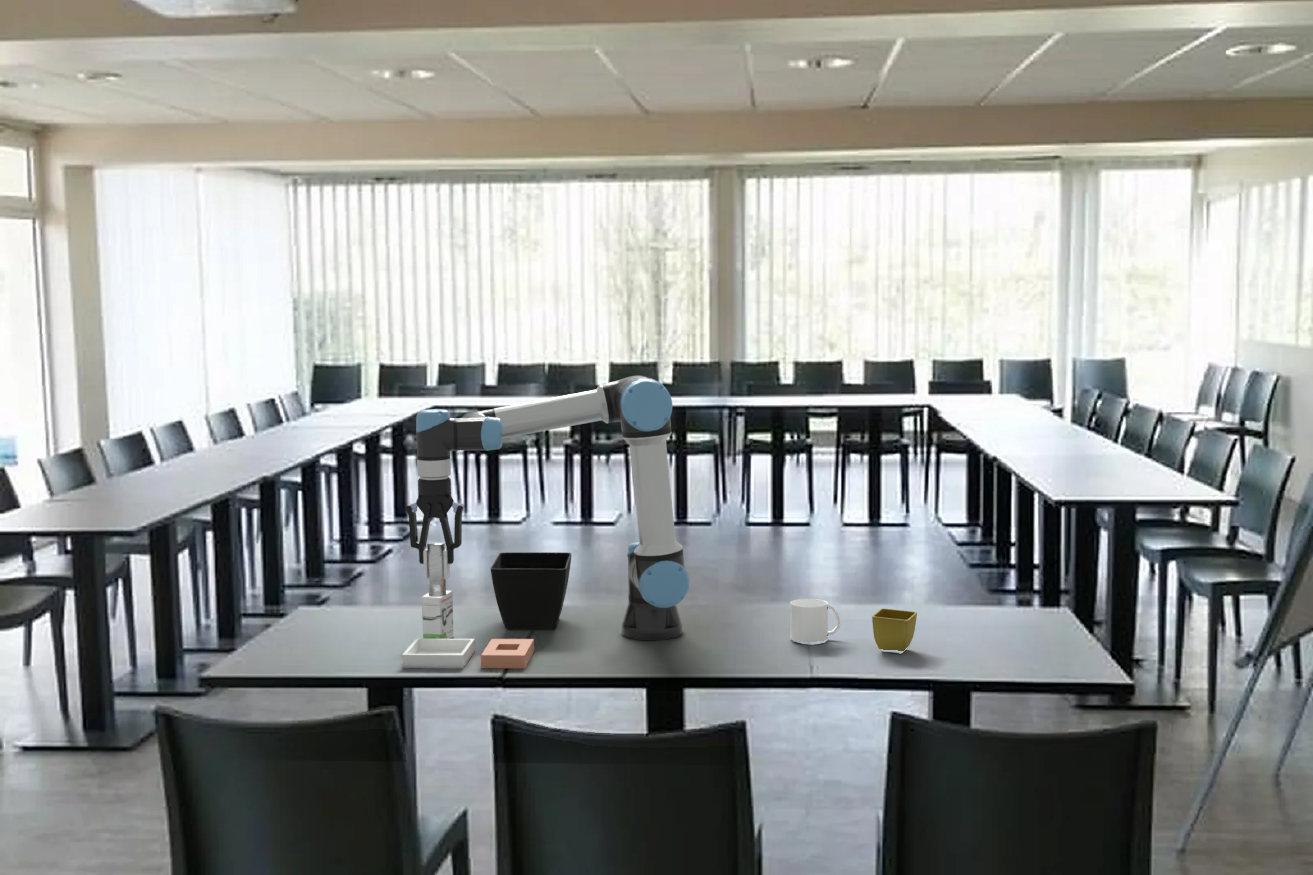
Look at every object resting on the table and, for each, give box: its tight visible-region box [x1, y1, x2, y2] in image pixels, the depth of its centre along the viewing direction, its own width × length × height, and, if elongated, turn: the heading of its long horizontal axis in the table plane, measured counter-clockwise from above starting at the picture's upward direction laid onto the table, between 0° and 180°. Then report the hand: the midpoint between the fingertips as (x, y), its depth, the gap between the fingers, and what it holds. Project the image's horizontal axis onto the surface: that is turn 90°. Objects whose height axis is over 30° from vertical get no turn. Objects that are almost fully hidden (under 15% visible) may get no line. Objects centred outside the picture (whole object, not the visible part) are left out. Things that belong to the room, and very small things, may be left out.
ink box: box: [421, 589, 454, 639], centre depth 329 cm, size 9×5×12 cm, turn 167°
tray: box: [401, 637, 476, 669], centre depth 313 cm, size 14×14×3 cm
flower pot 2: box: [871, 608, 918, 652], centre depth 316 cm, size 9×9×9 cm
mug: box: [789, 598, 841, 642], centre depth 326 cm, size 12×9×9 cm
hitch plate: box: [480, 638, 535, 669], centre depth 312 cm, size 10×14×3 cm
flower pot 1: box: [490, 551, 573, 631], centre depth 344 cm, size 19×19×17 cm
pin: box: [426, 541, 447, 597], centre depth 311 cm, size 4×4×12 cm
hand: (437, 577), depth 311 cm, fingers closed on pin, 4 cm apart
